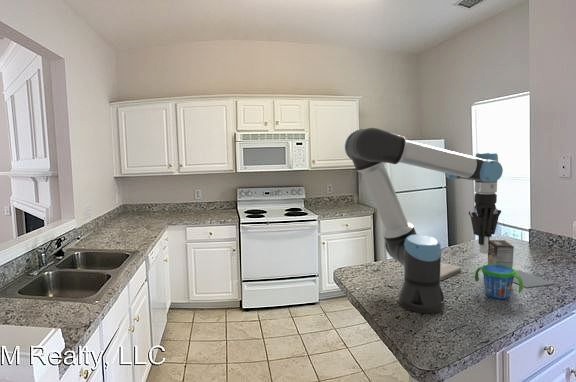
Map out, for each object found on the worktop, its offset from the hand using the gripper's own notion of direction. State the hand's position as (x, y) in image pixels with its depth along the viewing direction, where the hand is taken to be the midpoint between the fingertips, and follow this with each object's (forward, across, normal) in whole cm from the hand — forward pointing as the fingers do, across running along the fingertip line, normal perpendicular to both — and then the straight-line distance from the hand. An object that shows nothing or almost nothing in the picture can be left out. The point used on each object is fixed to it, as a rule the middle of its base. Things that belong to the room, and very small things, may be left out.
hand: (483, 252), depth 139 cm
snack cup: (+13, -3, -11) cm, 17 cm away
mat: (+13, +19, 0) cm, 23 cm away
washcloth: (+13, -8, +16) cm, 22 cm away
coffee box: (+13, +8, 0) cm, 15 cm away
